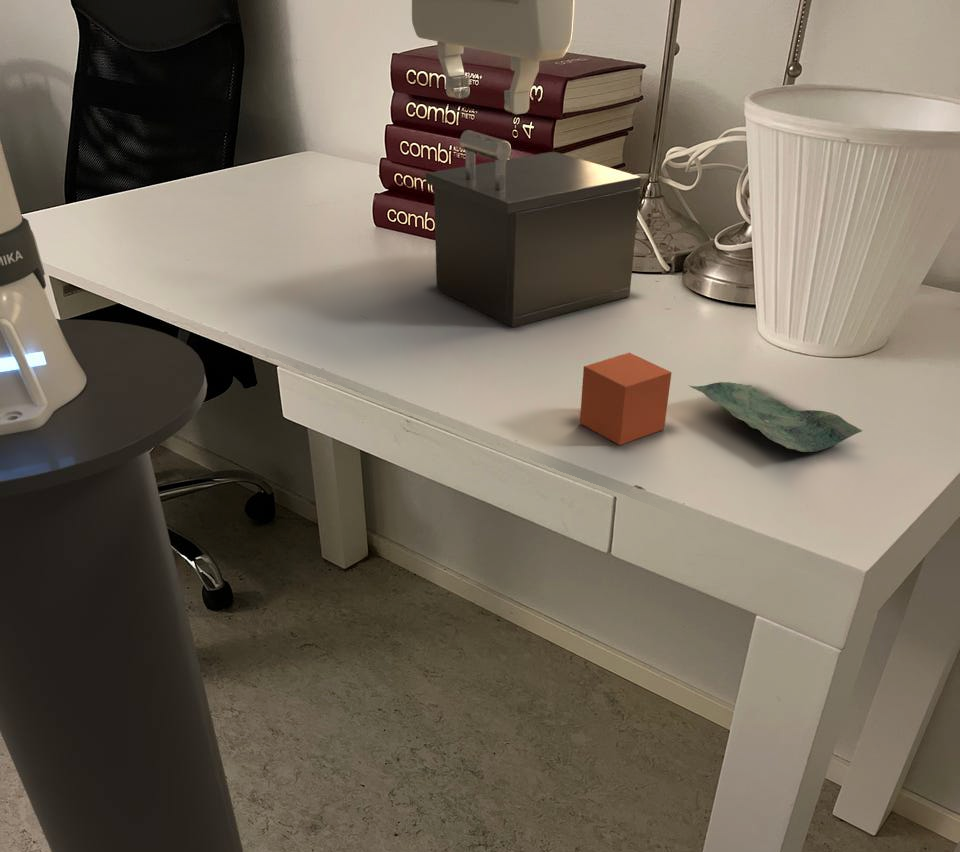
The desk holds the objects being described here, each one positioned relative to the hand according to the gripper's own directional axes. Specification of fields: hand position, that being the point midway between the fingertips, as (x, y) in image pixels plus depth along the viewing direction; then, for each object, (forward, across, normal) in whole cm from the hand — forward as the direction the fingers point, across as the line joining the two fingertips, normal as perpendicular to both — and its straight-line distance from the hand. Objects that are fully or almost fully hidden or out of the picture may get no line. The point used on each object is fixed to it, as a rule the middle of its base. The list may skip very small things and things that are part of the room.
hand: (486, 104), depth 91 cm
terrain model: (+19, +37, +2) cm, 42 cm away
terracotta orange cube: (+19, +30, -8) cm, 36 cm away
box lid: (+8, 0, +6) cm, 10 cm away
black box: (+19, 0, +6) cm, 20 cm away
